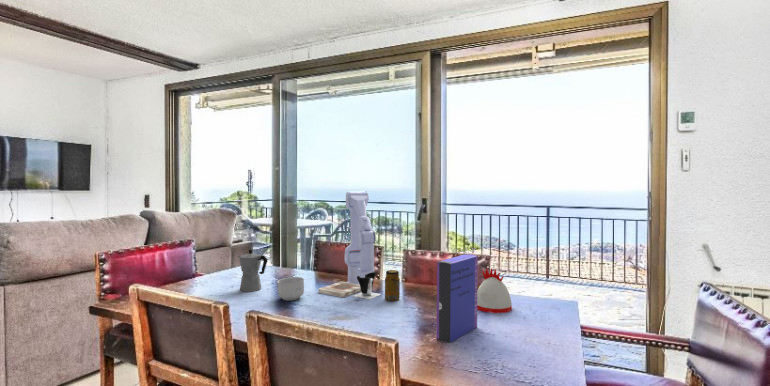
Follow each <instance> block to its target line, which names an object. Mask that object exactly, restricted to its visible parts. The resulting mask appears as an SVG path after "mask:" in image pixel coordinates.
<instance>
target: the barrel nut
mask: <svg viewBox="0 0 770 386" xmlns="http://www.w3.org/2000/svg"><path fill="white" fill-rule="evenodd" d="M372 281H373V278H371V279H370V281H369V285H368V291H367V294H362V296H371V295H372V293H373V287H372Z"/></svg>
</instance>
